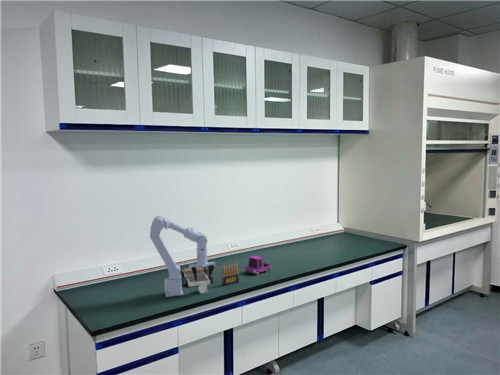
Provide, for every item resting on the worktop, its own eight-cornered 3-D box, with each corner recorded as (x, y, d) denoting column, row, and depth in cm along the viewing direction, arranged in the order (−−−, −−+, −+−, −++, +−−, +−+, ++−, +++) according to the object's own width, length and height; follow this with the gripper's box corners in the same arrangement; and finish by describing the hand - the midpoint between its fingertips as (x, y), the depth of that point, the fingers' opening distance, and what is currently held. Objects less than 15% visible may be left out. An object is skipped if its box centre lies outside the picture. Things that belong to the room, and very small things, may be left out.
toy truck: (243, 272, 263) (243, 257, 262) (260, 267, 274) (260, 253, 273) (256, 276, 255) (255, 260, 254) (272, 270, 267) (272, 255, 266)
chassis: (185, 287, 236) (185, 279, 235) (179, 275, 259) (179, 267, 259) (213, 284, 241) (213, 276, 240) (205, 272, 264) (205, 264, 264)
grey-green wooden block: (200, 293, 226) (199, 285, 225) (198, 290, 231) (198, 282, 230) (207, 292, 227) (207, 284, 227) (205, 290, 232) (205, 281, 231)
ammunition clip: (237, 281, 246) (236, 262, 244) (238, 282, 244) (238, 262, 243) (221, 285, 240) (221, 265, 238) (223, 286, 238) (223, 265, 237)
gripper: (190, 258, 221) (190, 283, 222) (216, 256, 225) (217, 280, 227) (188, 255, 228) (188, 279, 229) (213, 253, 232) (214, 276, 233)
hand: (202, 279), depth 228 cm, fingers open, 7 cm apart
